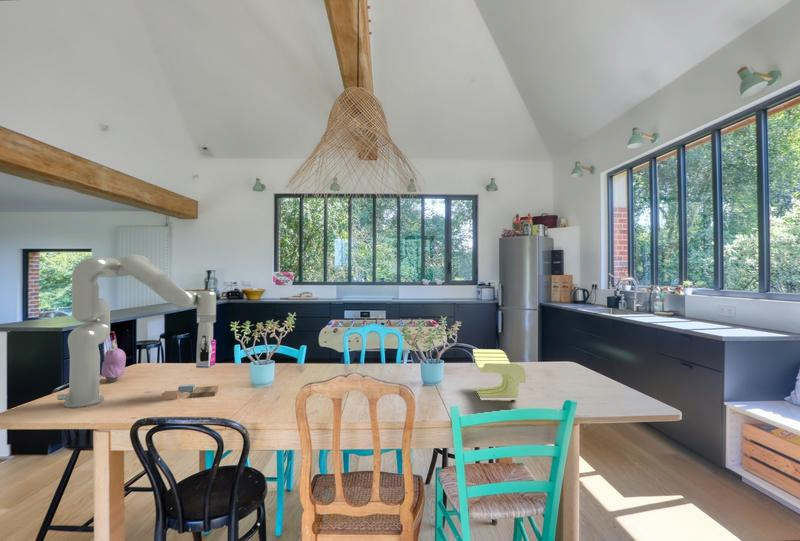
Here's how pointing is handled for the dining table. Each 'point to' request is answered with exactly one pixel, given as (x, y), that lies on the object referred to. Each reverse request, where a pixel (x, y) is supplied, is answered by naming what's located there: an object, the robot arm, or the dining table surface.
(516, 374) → the slatted curved stool
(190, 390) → the slate brick
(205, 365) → the supplement box
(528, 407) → the dining table surface
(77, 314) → the robot arm
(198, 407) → the dining table surface
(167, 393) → the terracotta brick
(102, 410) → the dining table surface
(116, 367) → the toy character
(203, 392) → the tan flat square block
